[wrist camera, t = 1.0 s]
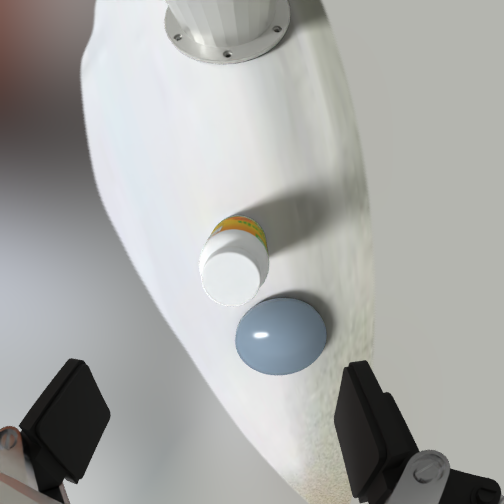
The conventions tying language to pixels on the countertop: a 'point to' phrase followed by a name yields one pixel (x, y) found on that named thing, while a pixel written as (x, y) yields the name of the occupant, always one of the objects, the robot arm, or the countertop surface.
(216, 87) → the countertop surface
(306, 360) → the pale blue round plate
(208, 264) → the supplement bottle
